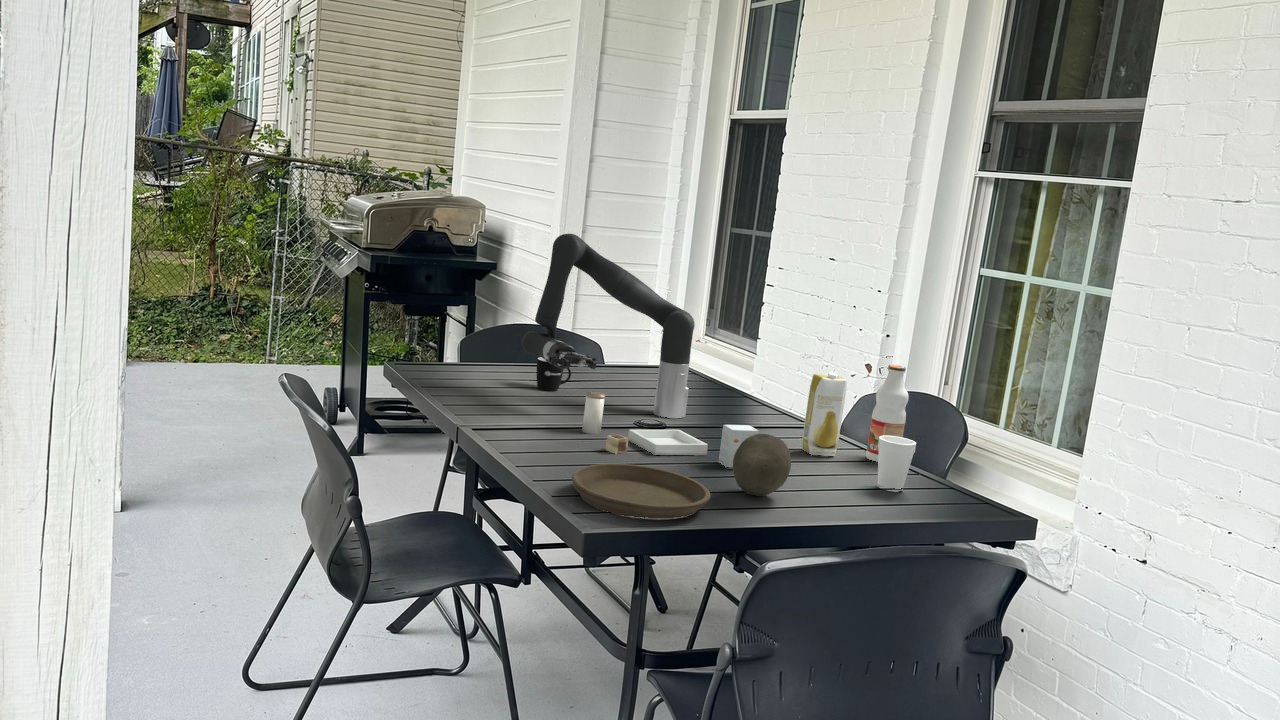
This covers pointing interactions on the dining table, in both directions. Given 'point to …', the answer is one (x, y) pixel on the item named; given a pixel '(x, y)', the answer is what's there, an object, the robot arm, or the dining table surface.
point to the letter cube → (617, 444)
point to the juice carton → (824, 414)
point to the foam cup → (894, 460)
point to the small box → (733, 441)
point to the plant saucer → (639, 490)
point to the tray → (667, 442)
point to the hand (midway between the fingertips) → (581, 365)
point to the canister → (593, 412)
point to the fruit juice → (888, 410)
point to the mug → (549, 376)
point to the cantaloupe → (761, 464)
